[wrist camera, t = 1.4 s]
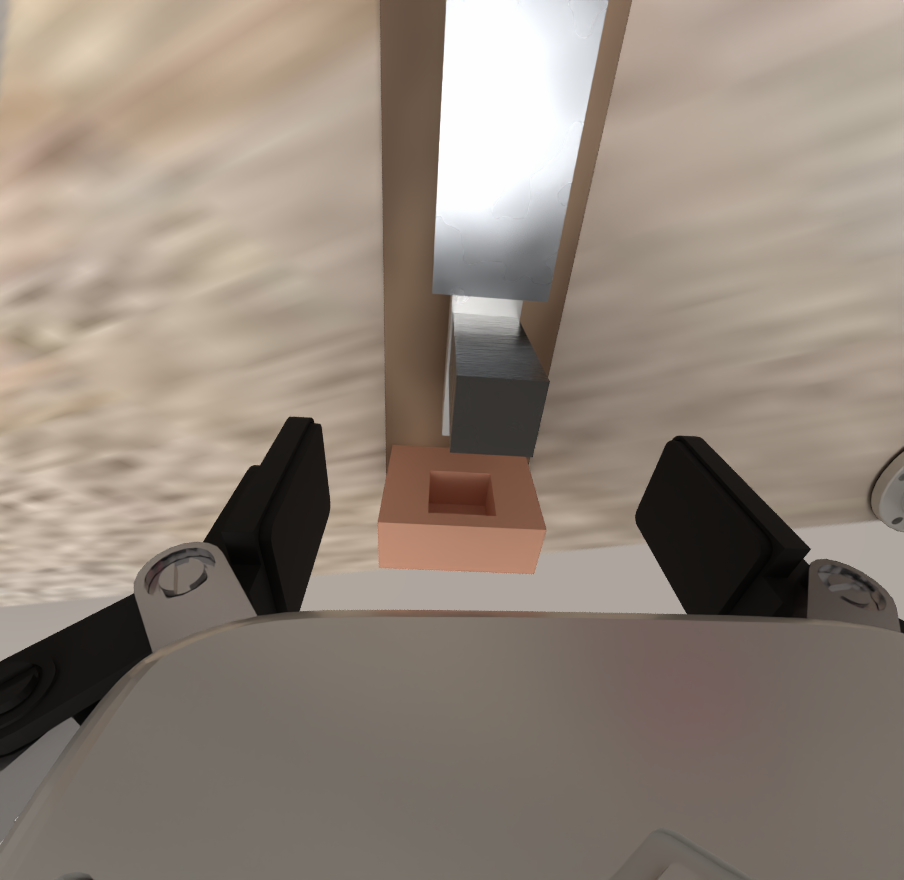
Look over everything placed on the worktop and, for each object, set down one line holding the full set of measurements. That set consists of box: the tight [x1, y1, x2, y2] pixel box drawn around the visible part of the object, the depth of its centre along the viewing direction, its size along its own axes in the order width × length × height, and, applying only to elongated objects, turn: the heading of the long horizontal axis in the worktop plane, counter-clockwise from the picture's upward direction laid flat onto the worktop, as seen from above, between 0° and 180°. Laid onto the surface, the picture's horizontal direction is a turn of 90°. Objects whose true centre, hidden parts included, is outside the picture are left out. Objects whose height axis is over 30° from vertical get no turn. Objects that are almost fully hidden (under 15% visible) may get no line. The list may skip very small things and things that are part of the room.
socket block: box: [378, 445, 546, 574], centre depth 29 cm, size 10×4×8 cm, turn 86°
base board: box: [380, 0, 632, 476], centre depth 26 cm, size 11×30×2 cm, turn 176°
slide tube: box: [442, 295, 550, 457], centre depth 16 cm, size 3×19×10 cm, turn 176°
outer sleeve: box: [432, 0, 608, 302], centre depth 17 cm, size 5×12×8 cm, turn 175°
